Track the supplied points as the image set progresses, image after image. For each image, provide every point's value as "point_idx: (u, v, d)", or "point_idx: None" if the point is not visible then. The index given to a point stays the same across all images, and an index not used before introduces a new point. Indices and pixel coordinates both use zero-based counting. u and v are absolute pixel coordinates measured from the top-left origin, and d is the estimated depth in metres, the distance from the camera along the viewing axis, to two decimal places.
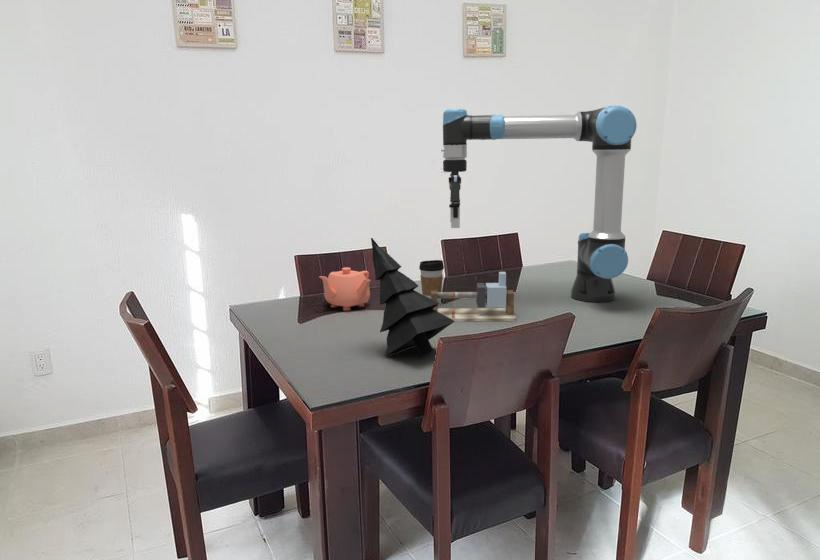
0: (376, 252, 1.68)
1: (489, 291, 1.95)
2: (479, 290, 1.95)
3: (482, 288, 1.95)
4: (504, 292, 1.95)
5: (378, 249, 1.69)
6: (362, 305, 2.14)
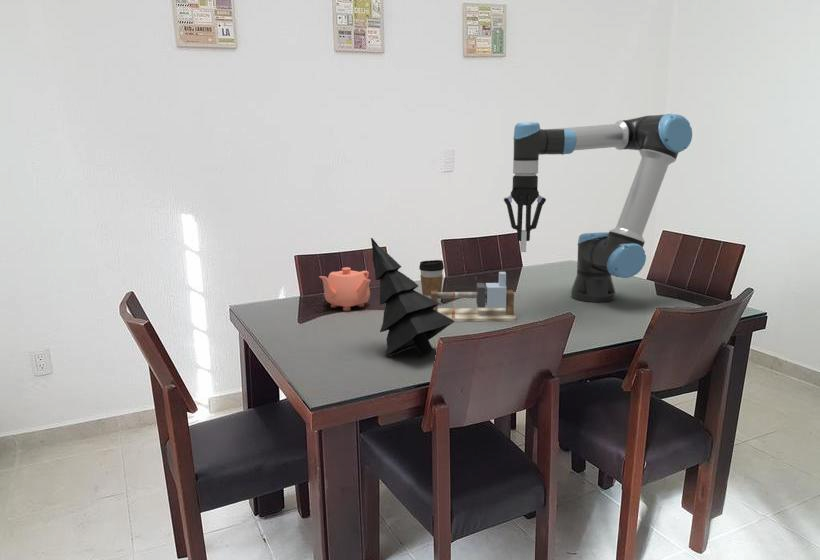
0: (376, 252, 1.68)
1: (489, 291, 1.95)
2: (479, 290, 1.95)
3: (482, 288, 1.95)
4: (504, 292, 1.95)
5: (378, 249, 1.69)
6: (362, 305, 2.14)
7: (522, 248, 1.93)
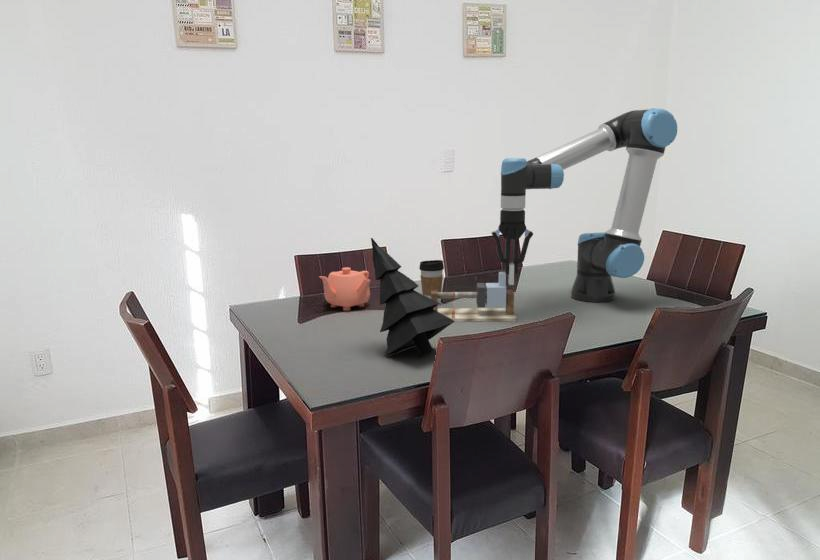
0: (376, 252, 1.68)
1: (489, 291, 1.95)
2: (479, 290, 1.95)
3: (482, 288, 1.95)
4: (504, 292, 1.95)
5: (378, 249, 1.69)
6: (362, 305, 2.14)
7: (510, 281, 1.96)
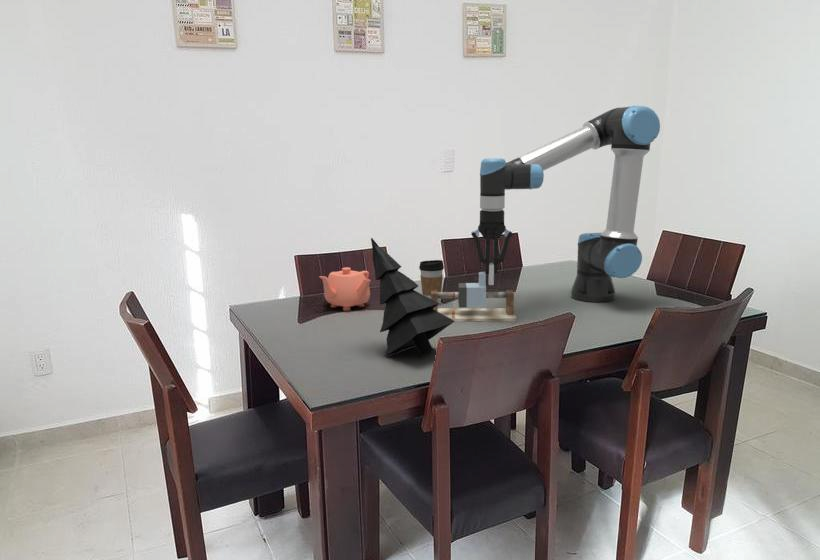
0: (376, 252, 1.68)
1: (469, 291, 1.95)
2: (460, 290, 1.95)
3: (463, 288, 1.95)
4: (484, 292, 1.95)
5: (378, 249, 1.69)
6: (362, 305, 2.14)
7: (490, 281, 1.96)
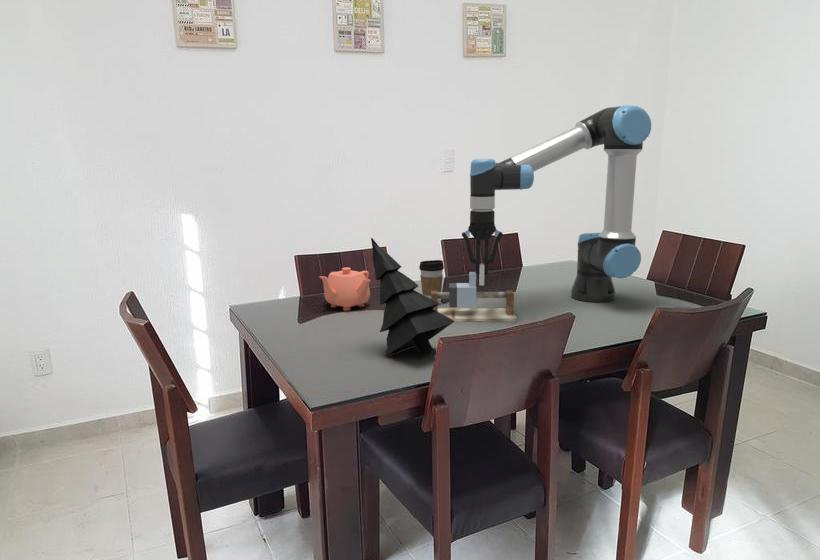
0: (376, 252, 1.68)
1: (459, 291, 1.95)
2: (451, 290, 1.95)
3: (454, 288, 1.95)
4: (474, 292, 1.95)
5: (378, 249, 1.69)
6: (362, 305, 2.14)
7: (480, 281, 1.96)
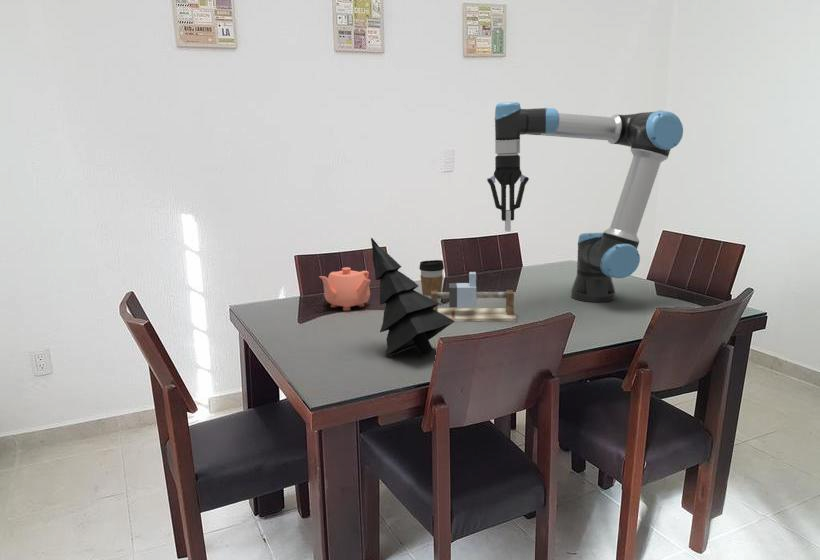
0: (376, 252, 1.68)
1: (459, 291, 1.95)
2: (451, 290, 1.95)
3: (454, 288, 1.95)
4: (474, 292, 1.95)
5: (378, 249, 1.69)
6: (362, 305, 2.14)
7: (507, 227, 1.95)
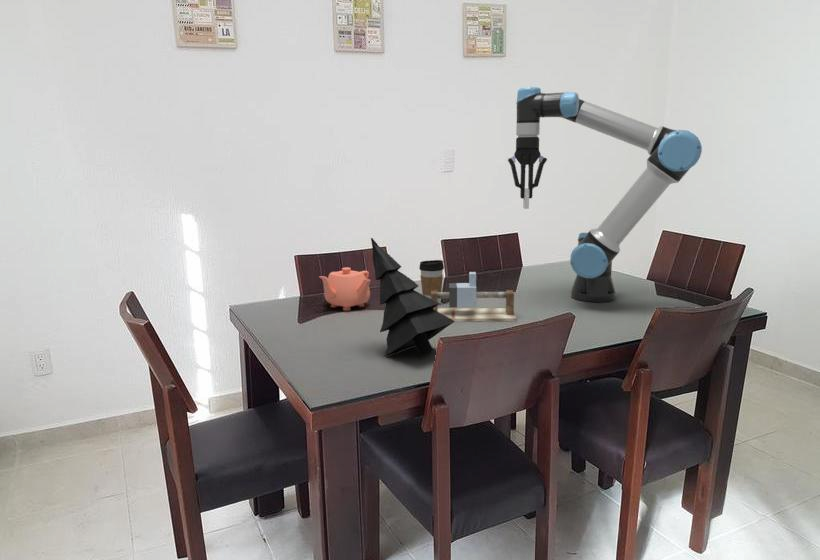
0: (376, 252, 1.68)
1: (459, 291, 1.95)
2: (451, 290, 1.95)
3: (454, 288, 1.95)
4: (474, 292, 1.95)
5: (378, 249, 1.69)
6: (362, 305, 2.14)
7: (525, 205, 2.09)
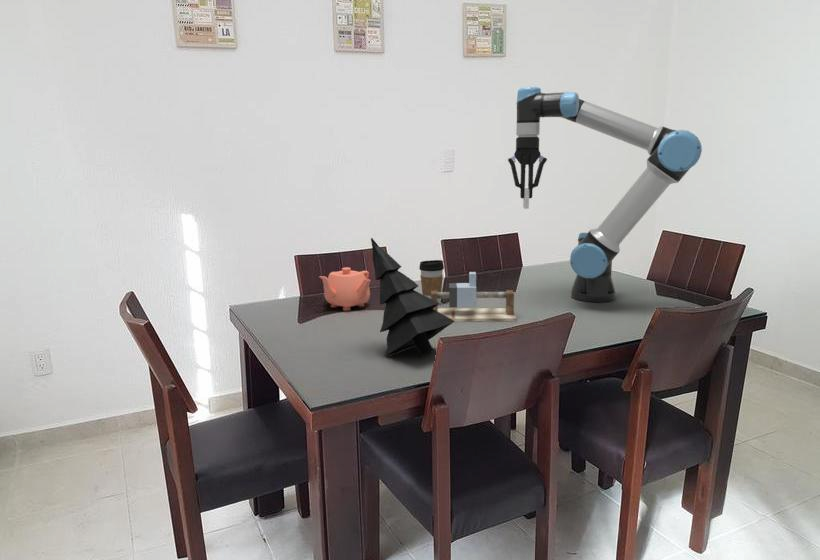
0: (376, 252, 1.68)
1: (459, 291, 1.95)
2: (451, 290, 1.95)
3: (454, 288, 1.95)
4: (474, 292, 1.95)
5: (378, 249, 1.69)
6: (362, 305, 2.14)
7: (525, 205, 2.09)
